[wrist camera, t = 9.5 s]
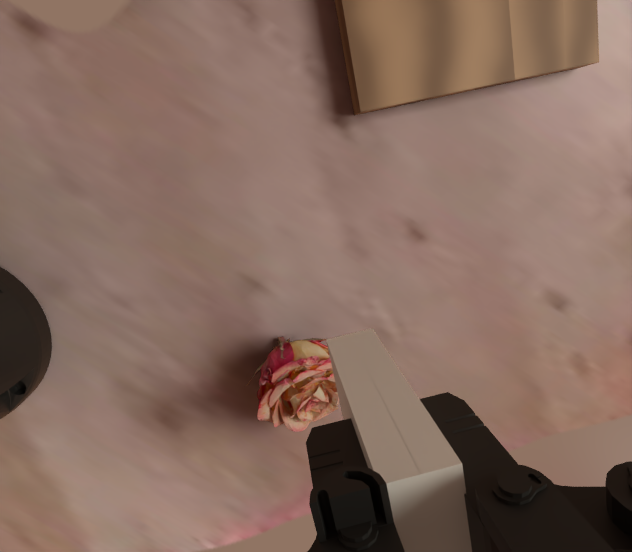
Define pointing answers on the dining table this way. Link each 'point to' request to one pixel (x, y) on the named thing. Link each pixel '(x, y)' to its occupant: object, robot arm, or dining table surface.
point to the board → (458, 45)
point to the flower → (296, 384)
